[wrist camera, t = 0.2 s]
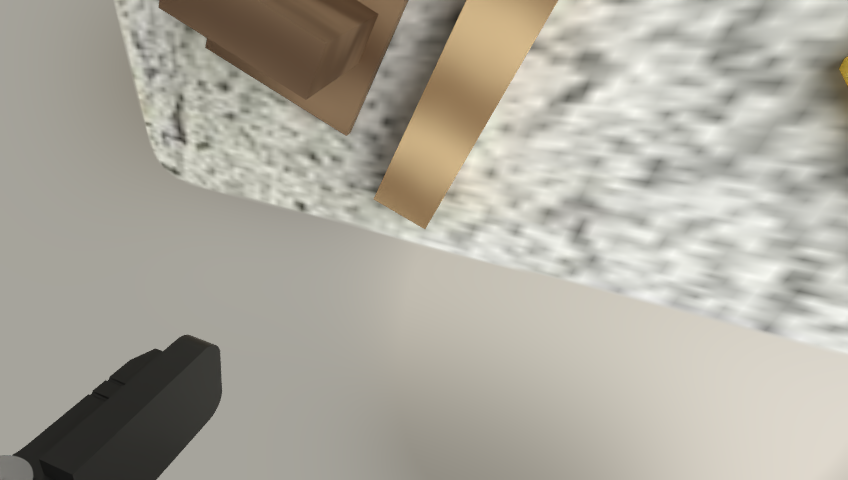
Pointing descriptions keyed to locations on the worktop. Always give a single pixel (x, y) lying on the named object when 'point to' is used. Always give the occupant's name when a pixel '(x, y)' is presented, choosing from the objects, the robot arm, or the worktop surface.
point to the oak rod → (459, 101)
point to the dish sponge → (844, 69)
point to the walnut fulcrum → (300, 46)
